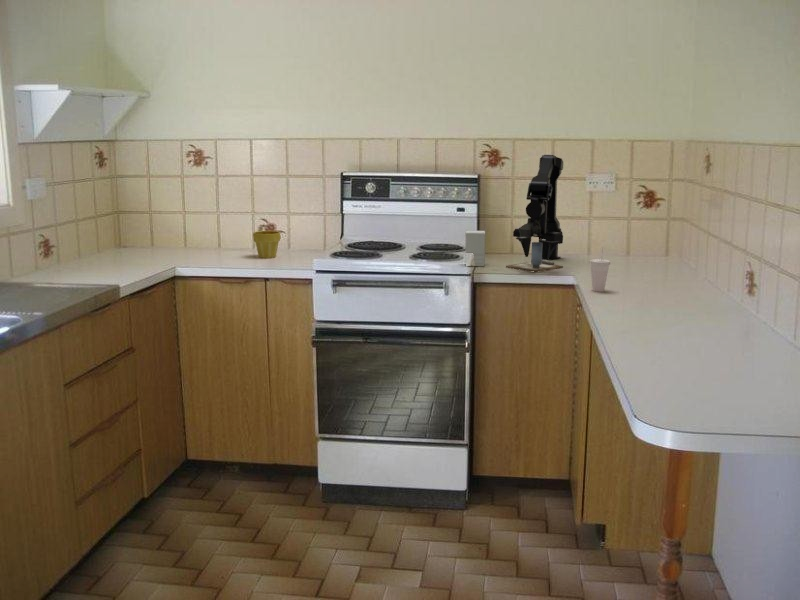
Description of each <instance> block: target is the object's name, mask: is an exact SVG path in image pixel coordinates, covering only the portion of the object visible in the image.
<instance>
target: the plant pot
mask: <svg viewBox="0 0 800 600" xmlns="http://www.w3.org/2000/svg"><path fill="white" fill-rule="evenodd" d="M252 233H253V236H252V238H253V242H254V243H255V246H256V250H257V255H258V257H259V258H260V259H273V258H276V257H277V253H278V247H279V241H281V232H280V231H277V230H259V231H258V230H256V231H254V232H252Z"/></svg>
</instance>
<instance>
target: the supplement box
mask: <svg viewBox="0 0 800 600" xmlns="http://www.w3.org/2000/svg"><path fill="white" fill-rule="evenodd" d="M464 253H473V254H474V262H475V266H474V267H485V263H486V230H466V231H465V251H464Z"/></svg>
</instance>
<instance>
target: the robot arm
mask: <svg viewBox="0 0 800 600" xmlns="http://www.w3.org/2000/svg"><path fill="white" fill-rule="evenodd" d="M538 168H539V169H538V172H537V175H535V176H534V177H532V179H531V181H530V182H529V183H528V188H527V193H526V200H527V201H528V200H529V201H530V202H529V203H528V204H527V205H526V207H525V213H526V215H527V217H528V218H527V223H524V224H523V225H521V226H519V227H518V228H514V230H513V233H512V236H513V237H515V239H516V240H518V241H519V243H520V244H521V246H522V250H523V253H524V257H525V258H529V255H530V248H531V245H532V238H538V242H541V243H543V245H542V259H545V261H548V260H557V259H561V256H558V254H559V245H561V244H563V243H564V241H563V240H564V235H563V234H564V233H563V231H562V228H561V223H560V221H559V220H558V218H557V197H558V195H557V192H558V179H559V178H560V177H561V174H562V171H563V170H564V161H563V158H561V157H558V156H557V155H554V154H542V155H541V157H539V163H538Z"/></svg>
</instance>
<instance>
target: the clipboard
mask: <svg viewBox="0 0 800 600" xmlns="http://www.w3.org/2000/svg"><path fill="white" fill-rule="evenodd" d="M507 267H508V269H513V268H514V269H515V270H519V269H520V270H521V271H525V270H527V271H526V272H531V271H534V272H533V273H539V272H538V271H541V272H545V271H544V270H546V271H551V270H550V269H552V270H557V269H556V268H558V269H562V268H564V266H563V265H559V264H555V263H554V262H550V261H547V260H544V261H543V260H542V264H541V265H540V267H539V269H534V268H533V265H532V264H531V261H526V262H520V263H513V264H508V265H507V264H506V265H505V268H507Z"/></svg>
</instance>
